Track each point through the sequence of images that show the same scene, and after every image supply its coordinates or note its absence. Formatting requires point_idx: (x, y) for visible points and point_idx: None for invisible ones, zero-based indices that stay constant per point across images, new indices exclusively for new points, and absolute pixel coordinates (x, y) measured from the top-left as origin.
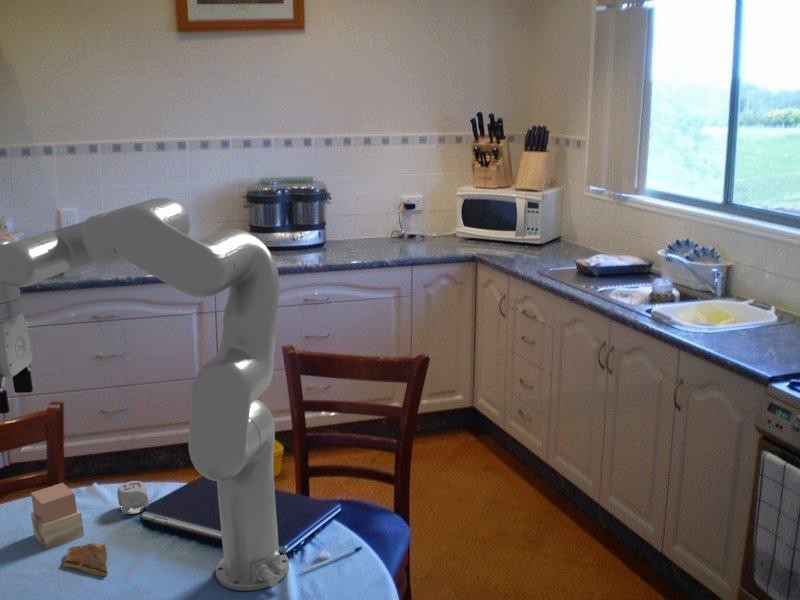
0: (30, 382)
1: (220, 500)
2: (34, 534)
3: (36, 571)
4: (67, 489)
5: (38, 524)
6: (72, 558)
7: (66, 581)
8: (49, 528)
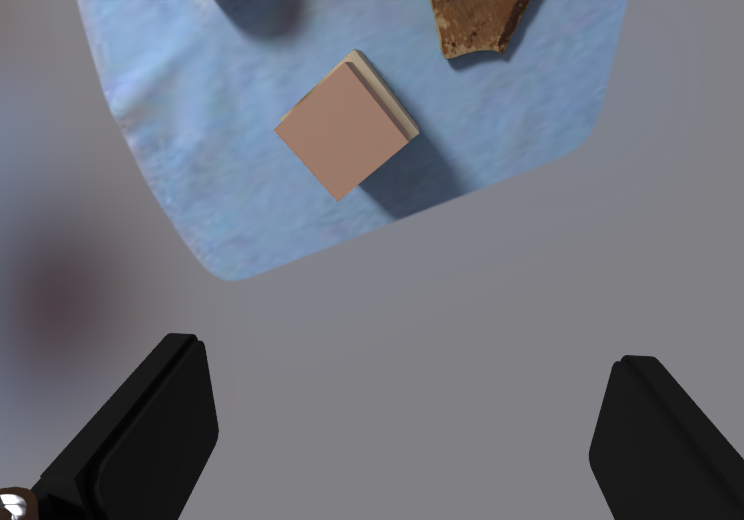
0: (151, 385)
1: None
2: None
3: (512, 112)
4: (317, 96)
5: None
6: (495, 28)
7: (572, 16)
8: (410, 120)
